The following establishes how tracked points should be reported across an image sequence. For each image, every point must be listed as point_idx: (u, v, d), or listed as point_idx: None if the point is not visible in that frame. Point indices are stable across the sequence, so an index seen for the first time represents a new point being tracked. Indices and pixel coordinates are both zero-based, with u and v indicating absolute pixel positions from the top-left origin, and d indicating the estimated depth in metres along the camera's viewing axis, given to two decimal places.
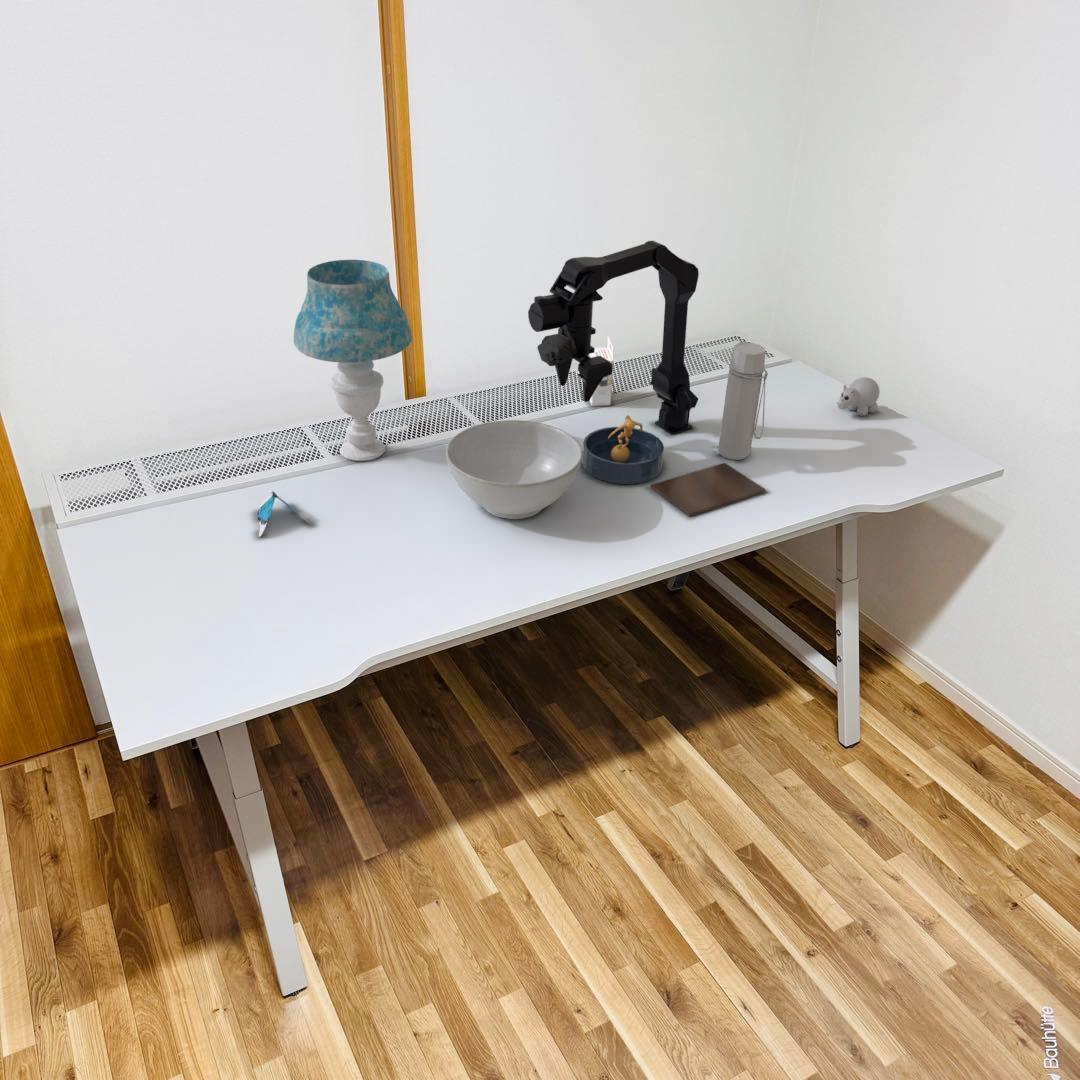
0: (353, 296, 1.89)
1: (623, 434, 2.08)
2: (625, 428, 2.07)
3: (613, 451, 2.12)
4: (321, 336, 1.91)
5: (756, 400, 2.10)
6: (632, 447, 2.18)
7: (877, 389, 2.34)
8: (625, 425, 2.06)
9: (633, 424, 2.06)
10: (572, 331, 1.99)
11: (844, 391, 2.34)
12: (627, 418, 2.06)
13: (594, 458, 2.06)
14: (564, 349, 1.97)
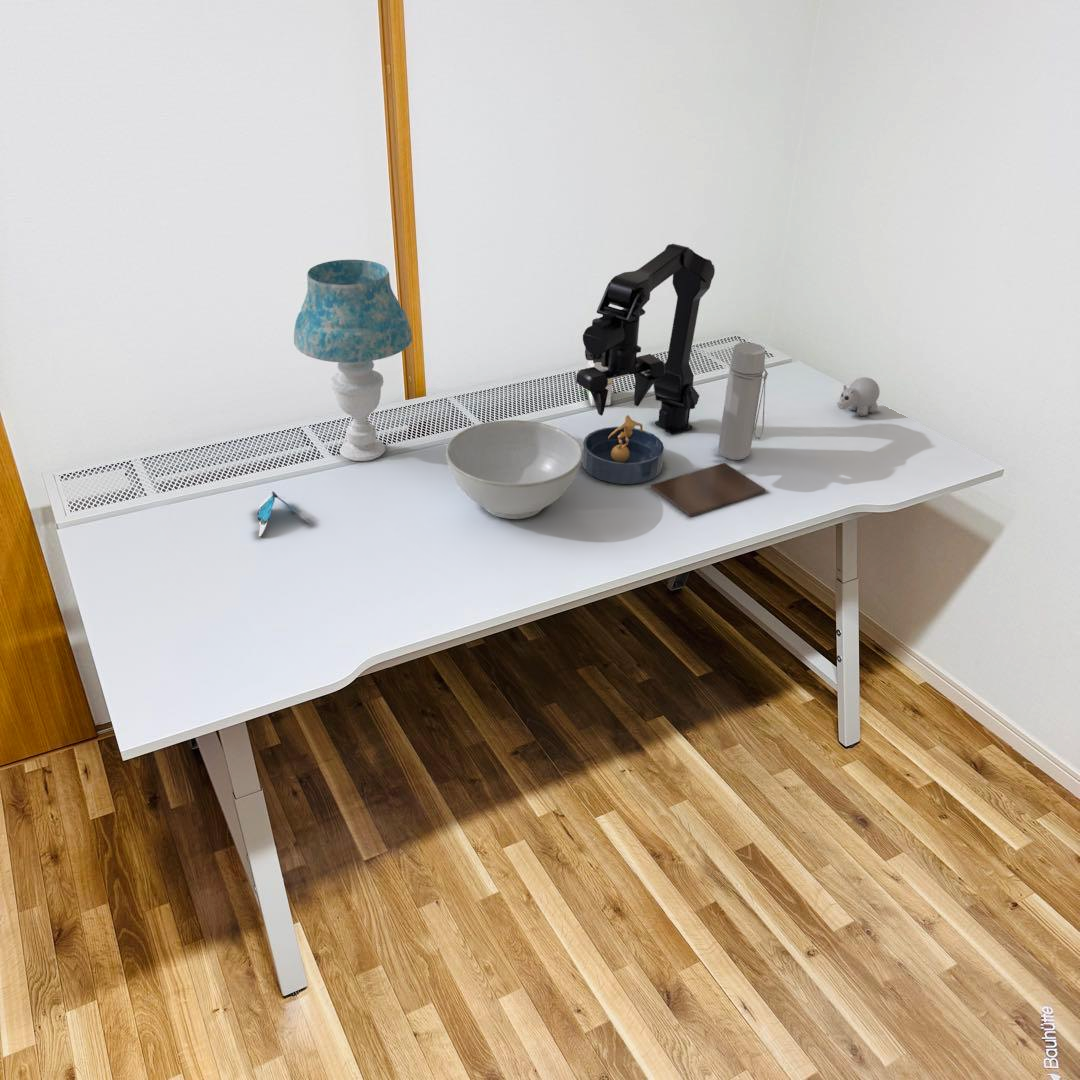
0: (353, 296, 1.89)
1: (623, 434, 2.08)
2: (625, 428, 2.07)
3: (613, 451, 2.12)
4: (321, 336, 1.91)
5: (756, 400, 2.10)
6: (632, 447, 2.18)
7: (877, 389, 2.34)
8: (625, 425, 2.06)
9: (633, 424, 2.06)
10: None
11: (844, 391, 2.34)
12: (627, 418, 2.06)
13: (594, 458, 2.06)
14: None
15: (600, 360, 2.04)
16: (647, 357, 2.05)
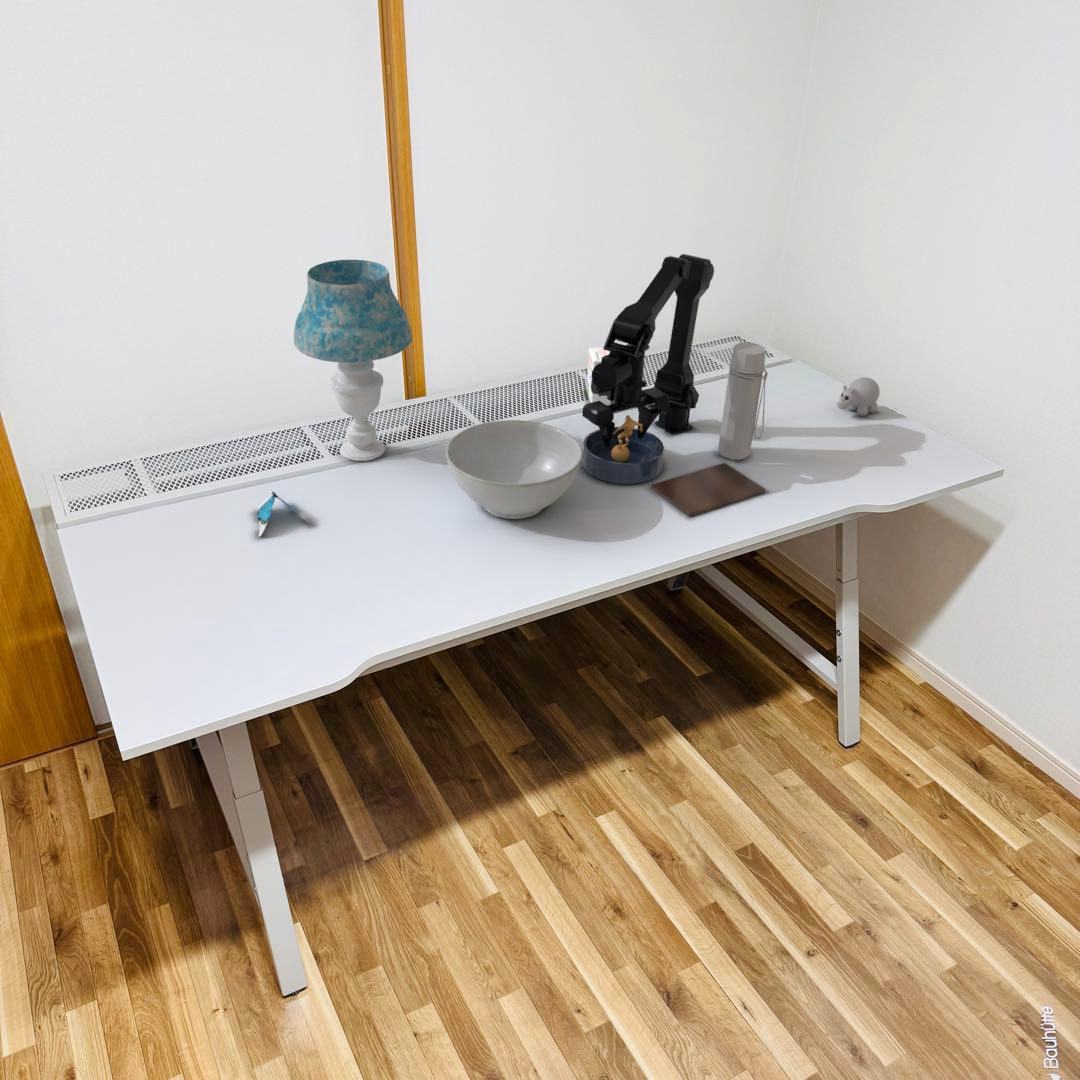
0: (353, 296, 1.89)
1: (623, 434, 2.08)
2: (625, 428, 2.07)
3: (613, 451, 2.12)
4: (321, 336, 1.91)
5: (756, 400, 2.10)
6: (632, 447, 2.18)
7: (877, 389, 2.34)
8: (625, 425, 2.06)
9: (633, 424, 2.06)
10: None
11: (844, 391, 2.34)
12: (627, 418, 2.06)
13: (594, 458, 2.06)
14: None
15: (606, 394, 2.07)
16: (652, 391, 2.09)
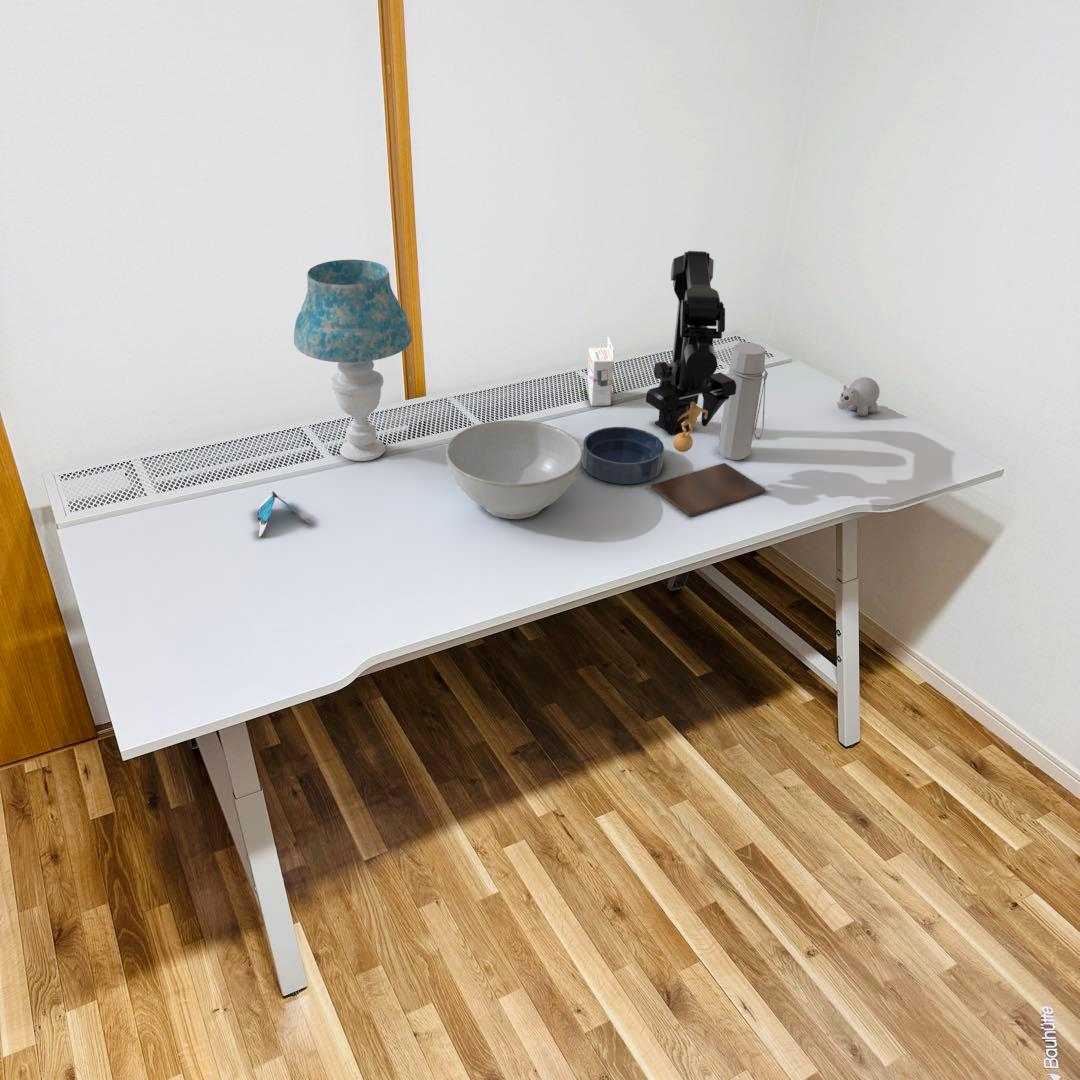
0: (353, 296, 1.89)
1: (687, 421, 1.98)
2: (690, 415, 1.97)
3: (676, 439, 2.02)
4: (321, 336, 1.91)
5: (756, 400, 2.10)
6: (632, 447, 2.18)
7: (877, 389, 2.34)
8: (690, 411, 1.96)
9: (699, 411, 1.96)
10: (681, 359, 1.94)
11: (844, 391, 2.34)
12: (692, 404, 1.96)
13: (594, 458, 2.06)
14: (659, 366, 1.96)
15: (670, 378, 1.97)
16: (718, 376, 1.99)
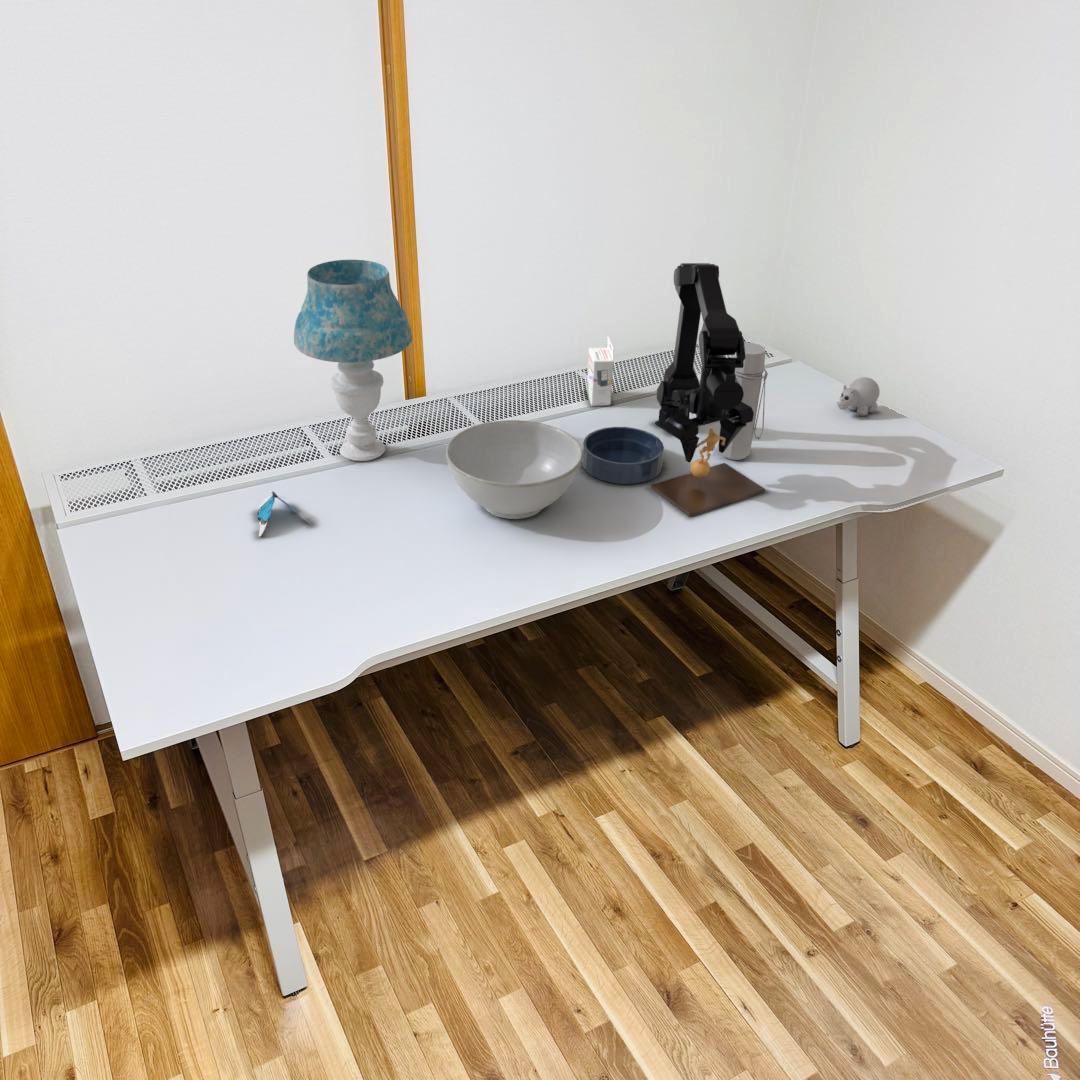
0: (353, 296, 1.89)
1: (705, 448, 1.99)
2: (708, 442, 1.98)
3: (693, 466, 2.03)
4: (321, 336, 1.91)
5: (756, 400, 2.10)
6: (632, 447, 2.18)
7: (877, 389, 2.34)
8: (709, 439, 1.97)
9: (717, 438, 1.97)
10: (699, 387, 1.94)
11: (844, 391, 2.34)
12: (710, 432, 1.97)
13: (594, 458, 2.06)
14: (677, 394, 1.97)
15: (688, 406, 1.98)
16: None
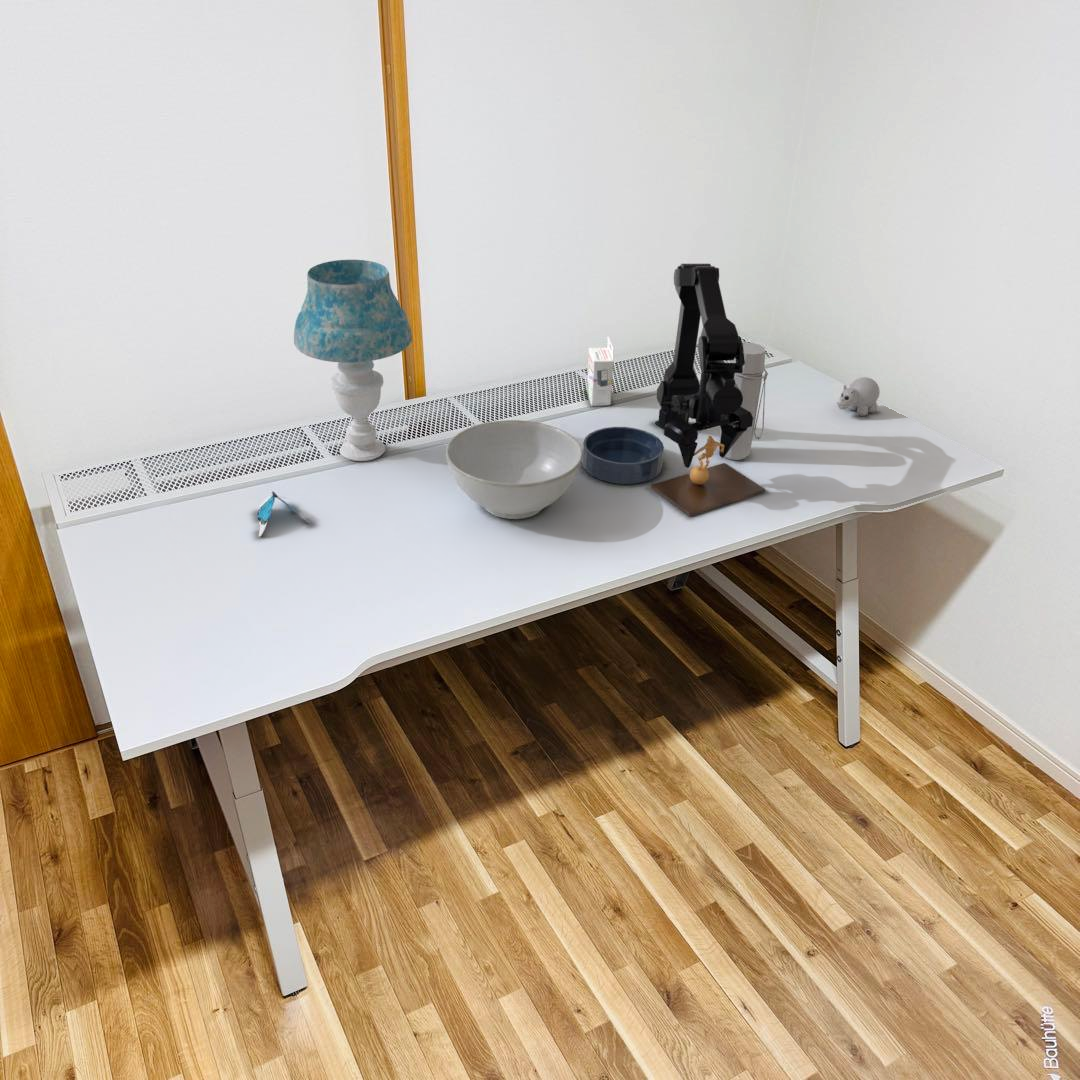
0: (353, 296, 1.89)
1: (704, 455, 2.00)
2: (707, 449, 1.99)
3: (692, 472, 2.04)
4: (321, 336, 1.91)
5: (756, 400, 2.10)
6: (632, 447, 2.18)
7: (877, 389, 2.34)
8: (707, 446, 1.98)
9: (716, 445, 1.97)
10: (698, 393, 1.95)
11: (844, 391, 2.34)
12: (709, 439, 1.98)
13: (594, 458, 2.06)
14: (676, 399, 1.98)
15: (687, 411, 1.99)
16: None
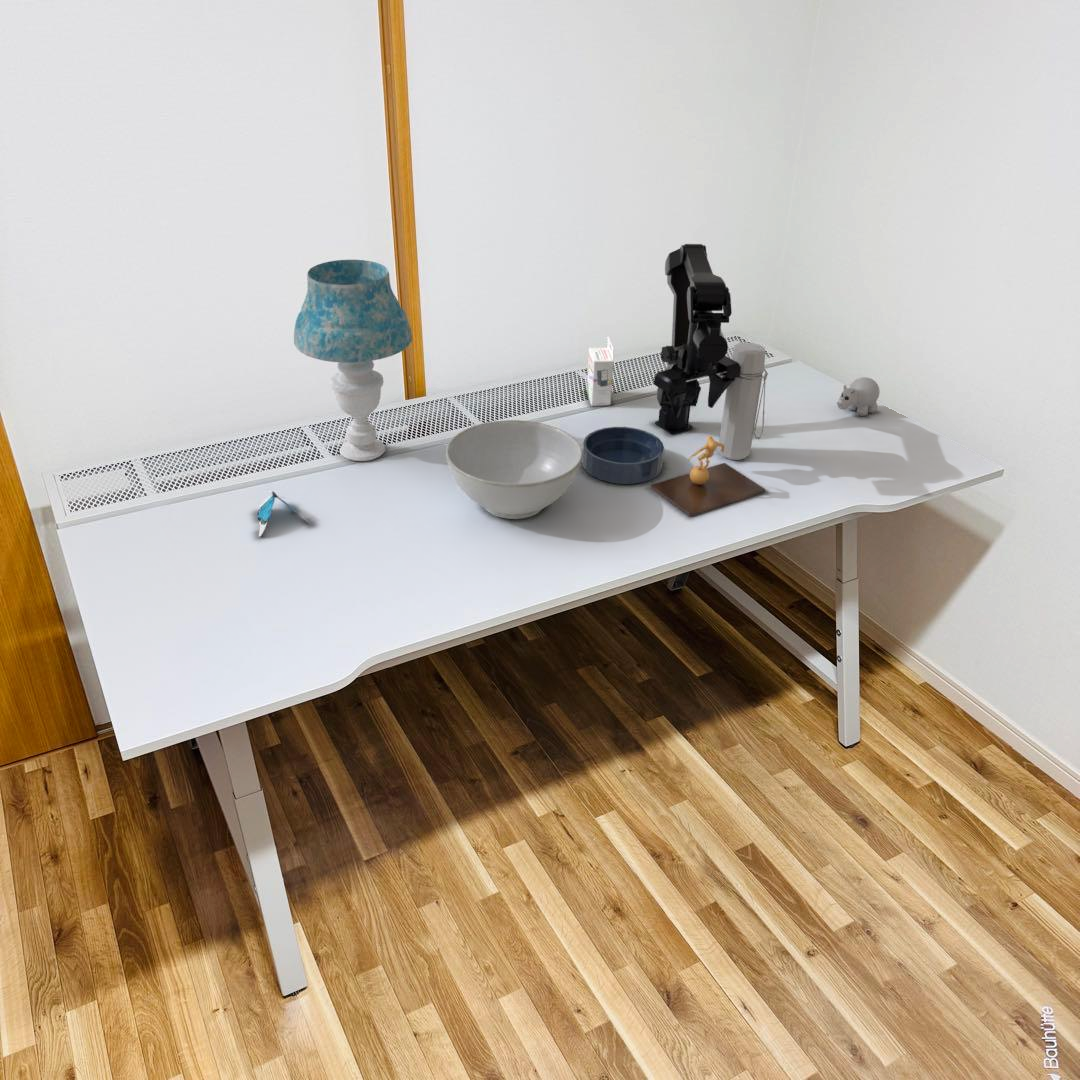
0: (353, 296, 1.89)
1: (704, 455, 2.00)
2: (707, 449, 1.99)
3: (692, 472, 2.04)
4: (321, 336, 1.91)
5: (756, 400, 2.10)
6: (632, 447, 2.18)
7: (877, 389, 2.34)
8: (707, 446, 1.98)
9: (716, 445, 1.97)
10: (687, 343, 2.00)
11: (844, 391, 2.34)
12: (709, 439, 1.98)
13: (594, 458, 2.06)
14: (666, 350, 2.03)
15: (676, 362, 2.04)
16: (722, 359, 2.06)
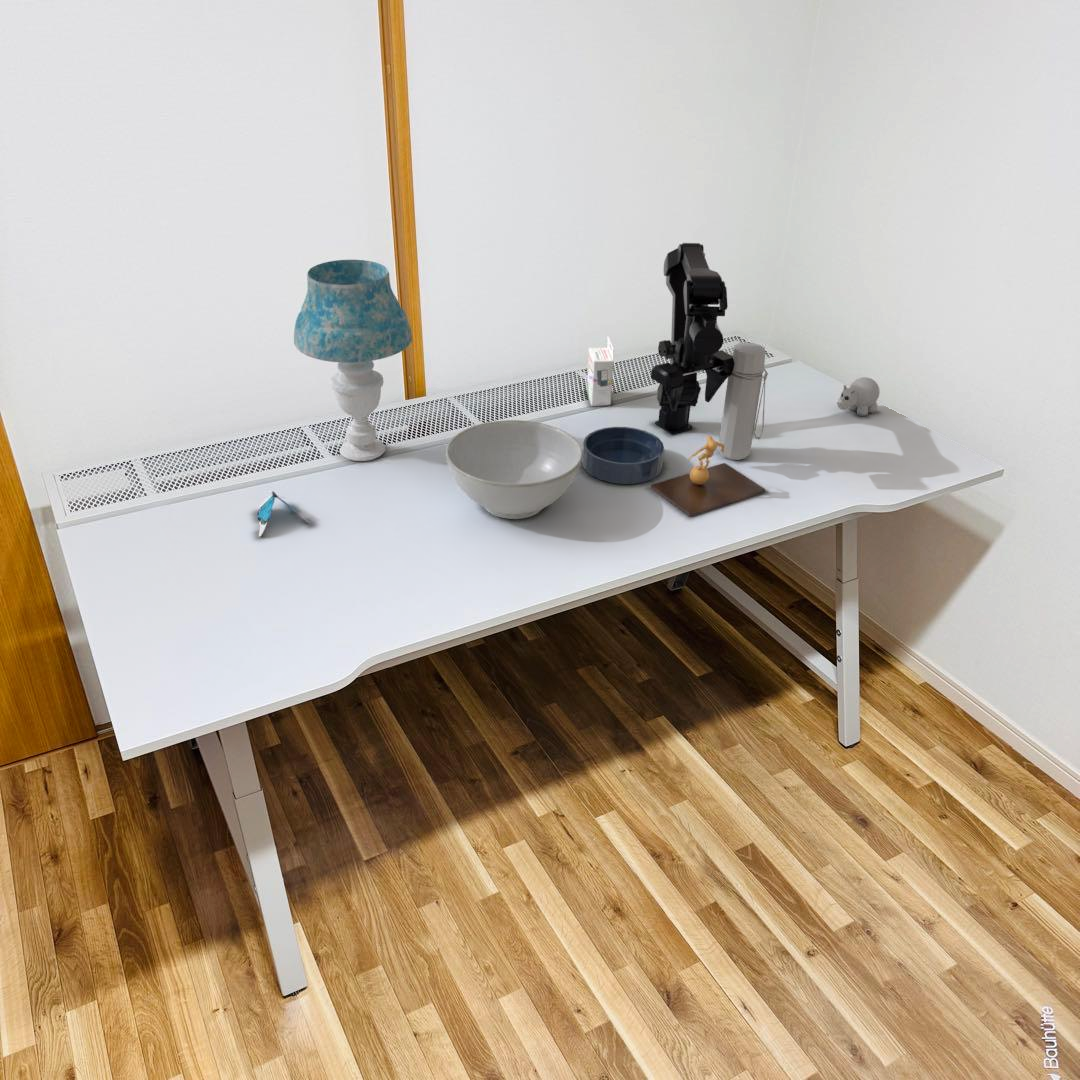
0: (353, 296, 1.89)
1: (704, 455, 2.00)
2: (707, 449, 1.99)
3: (692, 472, 2.04)
4: (321, 336, 1.91)
5: (756, 400, 2.10)
6: (632, 447, 2.18)
7: (877, 389, 2.34)
8: (707, 446, 1.98)
9: (716, 445, 1.97)
10: (684, 337, 2.02)
11: (844, 391, 2.34)
12: (709, 439, 1.98)
13: (594, 458, 2.06)
14: (663, 344, 2.05)
15: (673, 356, 2.06)
16: (719, 354, 2.08)
